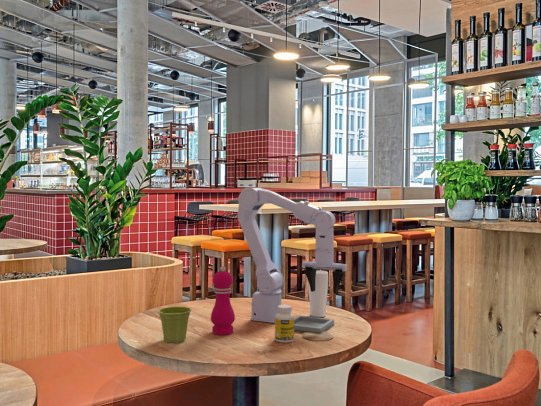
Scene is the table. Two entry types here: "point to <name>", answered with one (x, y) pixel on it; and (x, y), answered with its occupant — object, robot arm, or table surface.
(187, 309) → the plant pot
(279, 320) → the supplement bottle
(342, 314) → the table surface
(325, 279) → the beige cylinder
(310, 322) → the tray
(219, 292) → the pepper mill
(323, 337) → the cork coaster
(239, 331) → the table surface
